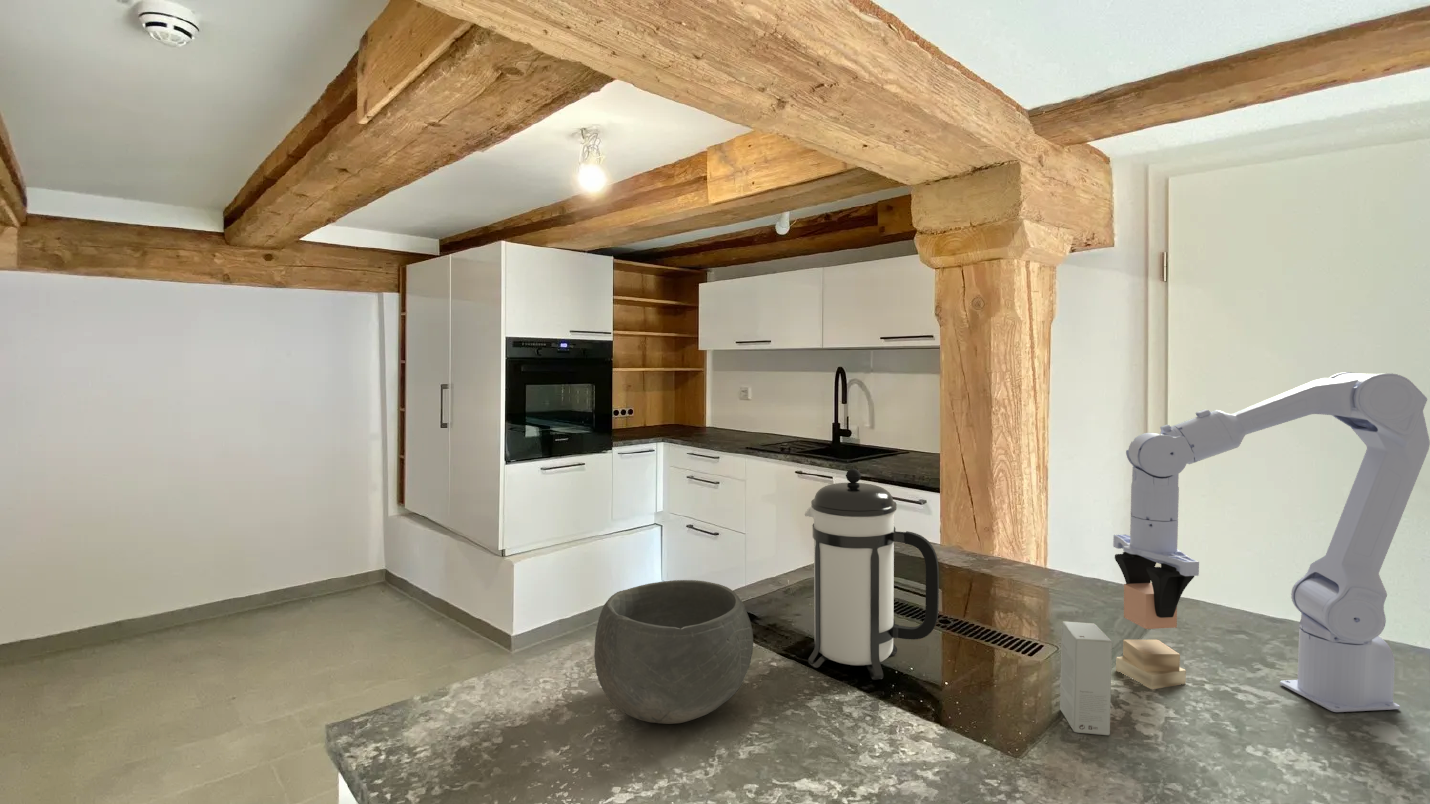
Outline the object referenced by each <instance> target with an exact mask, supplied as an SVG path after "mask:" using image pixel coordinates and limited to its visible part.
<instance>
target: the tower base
mask: <svg viewBox="0 0 1430 804" xmlns="http://www.w3.org/2000/svg"><path fill="white" fill-rule="evenodd" d="M1115 662H1116V663H1115V672H1118V673H1119V672H1121V673H1122V675H1123V674H1124V676H1125V675H1127V676H1129V677H1131V678H1133V679H1134V680H1133V679H1132V680H1133V681H1135V680H1136V681H1138V682H1140V683H1142V684H1143V685H1142V684H1141V685H1142V686H1145V687H1147V688H1148V689H1150V690H1156V689H1162V688H1170V687H1175V686H1179V685H1181V684H1182V685H1186V682H1187V681H1186V680H1187V679H1186V678H1187V670H1186V669H1184V668H1183V667H1181V666H1180V669H1179V671H1142V670H1141V669H1140V668H1138V667H1137V666H1136V665H1134V664H1133V663H1132V662H1130V661H1129V660H1128V659H1126V658H1125V657H1124V656H1121V655H1120V656H1116V659H1115ZM1121 673H1120V674H1121ZM1127 676H1126V677H1127ZM1129 677H1128V678H1129ZM1131 678H1130V679H1131ZM1136 681H1135V682H1136ZM1138 682H1137V683H1138ZM1140 683H1139V684H1140Z"/></svg>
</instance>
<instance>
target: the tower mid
mask: <svg viewBox="0 0 1430 804" xmlns="http://www.w3.org/2000/svg"><path fill="white" fill-rule="evenodd" d="M1122 644H1123V645H1122V655H1123V656H1124V657H1125V658H1126V659H1128V660H1129V661H1130V662H1132V663H1133V664H1134V665H1136V666H1137V667H1138V668H1140V669H1141V670H1142V671H1179V669H1180V667H1181V666H1180V664H1181V661H1180V660H1181V654H1180V653H1179V652H1177V651H1176V650H1174V649H1172V648H1171V647H1169V646H1168V645H1167V644H1165V643H1163V642H1162V641H1161V640H1159V639H1123V641H1122Z"/></svg>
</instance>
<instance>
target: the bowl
mask: <svg viewBox="0 0 1430 804" xmlns="http://www.w3.org/2000/svg"><path fill="white" fill-rule="evenodd" d="M753 649H754V633H753V627H752V623H751V619H750V617H749V614H748V611H747V609H746V607H745V605H744V602H743V601H742V600H741V598H740V597H739V596H738V595H737V593H736V592H735V591H734V590H733V589H731V588H729V587H727V586H725V585H722V584H721V583H720V584H719V583H715V582H712V581H711V582H710V581H704V580H697V579H696V580H695V579H678V580H677V579H676V580H665V581H664V580H663V581H656V582H652V583H645V584H641V585H639V586H634V587H630V588H627V589H623V590H619V591H616V592H614V594H612V595H611V596H609V598H608V599H607V600H606V602H605V603H604V604H603V606H602V609H601V611H600V615H599V616H598V621H597V625H596V631H595V638H594V651H593V652H594V655H593V657H594V665H595V666H594V667H595V671H596V675H597V680H598V682H599V685H600V688H601V689H602V691H603V692H604V694H605V696H606V697H607V699H608V700H609V701H610V703H611V704H613V705H614V706H615V707H616V708H617V709H619V710H620V711H621V712H623V713H624V714H625V715H627V716H629V717H632V718H634V719H637V720H639V721H643V722H647V723H652V724H653V723H654V724H655V723H656V724H667V725H668V724H669V725H670V724H671V725H672V724H681V723H687V722H689V721H693V720H695V719H698V718H701V717H703V716H706V715H708V714H710V713H712V712H714V711H716V709H718V708H720V707H721V706H722V705H724V704H725V703H726V702H727V701H729V700H730V699H731V698H732V697H733V696H734V695H735V693H737V692H738V690H739V689H740V688H741V686H742V684H743V682H744V680H745V679H746V676H747V673H748V670H749V668H750V665H751V662H752V657H753V651H754V650H753Z"/></svg>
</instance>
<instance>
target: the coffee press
mask: <svg viewBox="0 0 1430 804" xmlns="http://www.w3.org/2000/svg"><path fill="white" fill-rule="evenodd" d="M845 477H846V479H847V481H848V482H838V483H836V482H835V483H832V484H827V485H825V486H823V487H821V488H820V489H818V491H817V492H816V493H815V496H814V498H813V499H812V500H811V502H810V503H811V504H810V505H811V506H810V507H808V509H807V510H806V511H805V513H804V516H805V517H808V518H810V517H811V518H813V524H812V539H813V550H814V551H813V553H814V554H813V563H814V564H813V567H814V569H813V572H814V573H813V574H814V575H813V578H814V579H813V580H814V581H813V583H814V584H813V585H814V586H813V589H814V590H813V591H814V592H813V593H814V595H813V600H814V604H813V607H814V608H813V609H814V613H813V615H814V617H813V618H814V621H813V622H814V649H813V651H812V652H811V654H810V655H809V657H808V659H807V660H808V664H809V665H810V666H811V667H812V668H814V669H819V668H820V667H821V666H822V665H823V663H824V662H826V661H827V660H830V661H833V662H836V663H839V664H843V665H848V666H849V665H850V666H865V667H866V668H867V671H868V673H869V676H870V678H871V681H872V680H873V681H876V680H877V681H878V680H882V679H883V678H884V671H883V669H882V665H881V663H882V662H883V661H885V660H887V659H888V658H889V656H895V655H896V654H897V652H898V648H897V646H896V644H895V643H894V639H903V640H920V639H924V638H926V637H927V636H929V635H931V634H932V631H934V629H935V627H936V625H937V623H938V622H937V621H938V618H939V617H938V616H939V601H940V600H939V599H940V597H939V596H940V594H939V592H940V590H939V589H940V587H939V586H940V584H939V583H940V580H939V579H940V578H939V576H940V575H939V574H940V573H939V562H938V561H939V560H938V556H937V552H936V549H935V548H934V546H933V545H932V544H931V542H930V541H929V540H928V539H927V538H926V537H924V536H922V535H921V534H919V533H917V532H913V531H907V530H906V531H896V527H895V525H894V524H895V522H894V521H895V518H894V517H895V513H896V511H897V507H898V506H897V503H896V501H895V500H894V499H893V496H892V493H890V492H889V491H888V490H887V489H886V488H884V487H882V486H879V485H876V484H872V483H865V482H859V481H860V479H861V477H862V475H861V472H860V471H859V470H858V469H857V468H851V469H848V470H847V471H846V474H845ZM895 542H896V543H901V544H902V543H903V544H905V545H910V546H913V547H914V548H916V549H917V550H919V552H920V553H921V554H922V557H923V559H924V564H925V611H924V620H923V621H922V622H921V624H919V625H917V626H906V625H905V626H904V625H900V624H896V621H895V619H894V612H895V611H894V609H895V608H894V603H895V602H894V599H895V598H894V597H895V596H894V593H895V592H894V587H895V584H894V579H895V577H894V576H895V575H894V574H895V573H894V571H895V567H894V566H895V565H894V564H895V563H894V562H895V560H894V559H895V552H894V551H895V549H894V548H895V547H894V545H895ZM819 653H820V654H821V656H820V657H818V656H819ZM817 657H818V659H817ZM816 659H817V660H816ZM815 660H816V661H815Z"/></svg>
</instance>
